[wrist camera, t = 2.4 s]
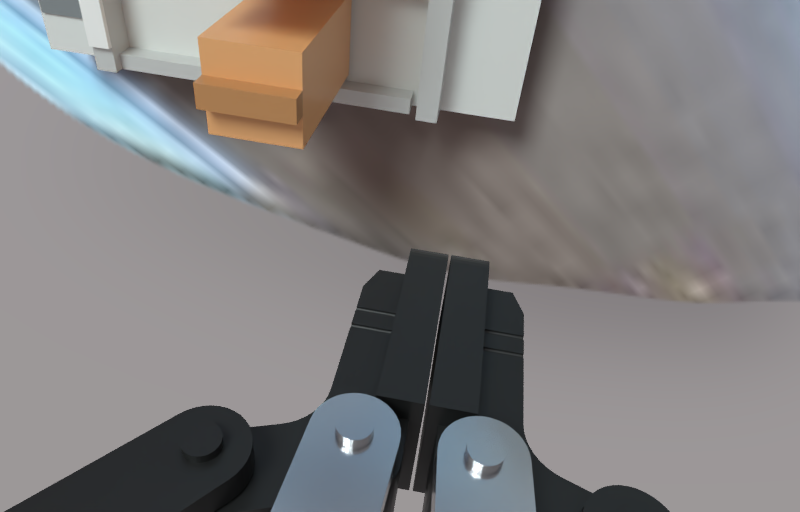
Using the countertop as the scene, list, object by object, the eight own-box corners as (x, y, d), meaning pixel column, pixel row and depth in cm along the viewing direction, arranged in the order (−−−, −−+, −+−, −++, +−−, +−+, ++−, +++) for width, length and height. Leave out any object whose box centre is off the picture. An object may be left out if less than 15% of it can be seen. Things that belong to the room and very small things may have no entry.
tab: (352, -9, 22) (295, 60, 17) (349, 74, 24) (297, 158, 18) (268, -20, 22) (187, 44, 17) (272, 62, 24) (200, 142, 19)
